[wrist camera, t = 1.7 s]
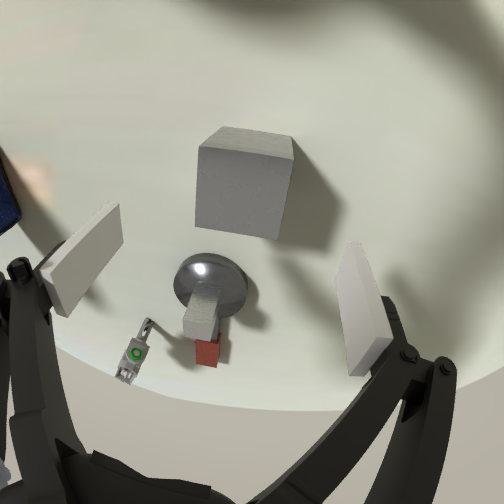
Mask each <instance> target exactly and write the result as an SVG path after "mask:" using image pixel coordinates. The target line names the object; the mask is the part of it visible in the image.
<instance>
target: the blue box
mask: <svg viewBox="0 0 504 504" xmlns="http://www.w3.org/2000/svg"><path fill="white" fill-rule="evenodd" d="M20 219H21V215H20V212H19V209H18V207H17V204H16V202H15V200H14V197H13V194H12V192H11V189H10V186H9V183H8V180H7V178H6V175H5V173H4V171H3V168H2V165H1V162H0V236H1V235H2V234H3V233H5V232H6V231H7V230H9V229H10V228H12V227H13V226H14V225H15V224H16V223H17V222H19V220H20Z"/></svg>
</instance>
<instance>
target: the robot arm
mask: <svg viewBox="0 0 504 504" xmlns="http://www.w3.org/2000/svg"><path fill="white" fill-rule="evenodd" d="M123 243H124V242H123V235H122V227H121V218H120V209H119V203H111V202H108V203H107V204H106V205H105V206H104V207H102V208H101V209H100V210H99V211H98V212H97V213H96V214H94V215H93V216H92V217H91V218H90V219H89V220H88V221H87V222H86V223H85V224H83V225H82V226H81V227H80V228H79V229H78V230H77V231H76V232H75V233H74V234H73V235H72V236H71V237H70V238H69V239H68V240H67V241H66V240H65V241H63V242H61V243H60V244H58V245H57V246H56V247H55V248H54V249H53V250H52V251H51V252H50V253H49V254H48V255H47V257H45V258H44V259H43V260H42V261H41V262H40V263H39V264H38V265H37V266H36V267H35V269H34V270H32V267H31V264H30V262H29V259H28V258H27V257H19V258H16V259H14V260H13V261H12V262H10V264H9V265H8V266H7V271H8V274H9V276H10V279H11V280H6V279H5V277H4V274H3V273H2V272H0V504H235V503H234V502H233V501H232V500H231V499H229V498H228V497H226V496H225V495H223V494H221V493H219V492H217V491H215V490H212V489H211V486H208V485H203V484H198V483H193V482H189V481H184V480H180V479H158V478H148V477H145V476H143V475H141V474H140V473H138V472H136V471H135V470H133V469H132V468H130V467H129V466H127V465H125V464H124V463H122V462H121V461H119V460H117V459H114V458H111V457H109V456H107V455H104V454H102V453H100V452H97V451H95V450H94V451H93V453H92V454H87V453H86V451H85V448H84V447H83V445H82V443H81V441H80V440H79V438H78V437H77V435H76V432H75V429H74V426H73V423H72V420H71V416H70V413H69V409H68V406H67V402H66V398H65V394H64V389H63V385H62V381H61V376H60V371H59V366H58V360H57V355H56V348H55V341H54V334H53V326H52V316H51V313H50V309H51V307H52V306H53V307H54V309H55V311H56V313H57V314H58V315H61V316H64V317H66V318H68V317H69V315H70V314H71V313H72V311H73V310H74V308H75V307H76V305H77V304H78V302H79V301H80V300H81V298H82V297H83V295H84V294H85V293H86V291H87V290H88V288H89V287H90V286H91V284H92V283H93V282H94V280H95V279H96V278H97V276H98V275H99V274H100V272H101V271H102V270H103V268H104V267H105V266H106V264H107V263H108V262H109V261H110V259H111V258H112V257H113V256H114V254H115V253H116V252H117V251H118V249H119V248H120V247H121V246H122V244H123ZM334 282H335V287H336V293H337V298H338V304H339V310H340V316H341V322H342V328H343V335H344V342H345V349H346V356H347V364H348V372H349V376H365V375H366V374H367V373H368V371H369V370H370V371H371V376H372V377H371V378H370V379H369V380H368V381H367V383H366V384H365V385H364V386H363V387H362V390H361V391H360V392H359V393H358V395H357V396H356V397H355V398H354V400H353V401H352V402H351V403H350V405H349V406H348V407H347V408H346V409H345V411H344V412H343V413H342V414H341V415H340V417H339V418H338V419H337V420H336V421H335V422H334V423H333V425H332V426H331V427H330V428H329V429H328V430H327V431H326V432H325V433H324V435H323V436H322V437H321V438H320V439H319V440H318V441H317V442H316V443H315V444H314V445H313V446H312V447H311V448H310V449H309V450H308V451H307V452H306V453H305V454H304V455H303V456H302V457H301V458H300V459H299V460H298V461H297V462H296V463H295V464H294V465H293V466H292V467H291V468H289V469H288V470H287V471H286V472H285V473H284V474H283V475H282V476H281V477H280V478H278V479H277V480H276V481H275V482H274V483H272V484H271V485H270V486H269V487H267V488H266V489H265V490H263V491H262V492H261V493H259V494H258V495H257V496H255V497H254V498H253V499H252V500H250V501H249V502H248V503H246V504H322V503H323V501H324V500H325V499H326V498H327V497H328V496H329V495H330V494H331V493H332V492H333V491H334V490H335V488H336V487H337V486H338V485H339V484H340V483H341V482H342V480H343V479H344V478H345V477H346V476H347V475H348V473H349V472H350V471H351V470H352V468H353V467H354V466H355V465H356V463H357V462H358V461H359V460H360V458H361V457H362V456H363V454H364V453H365V452H366V450H367V449H368V448H369V446H370V445H371V444H372V442H373V441H374V439H375V438H376V437H377V435H378V434H379V432H380V431H381V429H382V428H383V426H384V425H385V423H386V422H387V420H388V419H389V417H390V415H391V414H392V412H393V411H394V409H395V407H396V406H397V404H398V402H399V401H400V399H402V404H401V408H400V411H399V415H398V418H397V421H396V425H395V428H394V431H393V434H392V437H391V440H390V443H389V445H388V449H387V451H386V454H385V456H384V459H383V462H382V464H381V467H380V469H379V471H378V474H377V476H376V479H375V481H374V483H373V486H372V488H371V490H370V492H369V494H368V496H367V498H366V500H365V503H364V504H432V502H433V499H434V496H435V493H436V489H437V486H438V483H439V479H440V476H441V472H442V468H443V464H444V460H445V456H446V451H447V447H448V442H449V437H450V431H451V425H452V418H453V411H454V403H455V393H456V381H457V369H456V367H455V364H454V363H453V362H452V361H451V360H450V359H449V358H447V357H443V356H442V357H438V358H437V359H436V360H435V361H434V362H431V361H428V360H425V359H422V358H420V355H419V353H418V351H417V350H416V349H415V348H414V347H413V346H412V345H410V344H408V343H407V340H406V337H405V333H404V330H403V327H402V324H401V321H400V318H399V315H398V314H397V310H396V307H395V304H394V303H393V302H392V301H391V299H390V298H389V297H386V296H380V293H379V290H378V287H377V284H376V281H375V279H374V276H373V273H372V270H371V268H370V265H369V262H368V260H367V257H366V254H365V252H364V249H363V247H362V244H361V243H356V242H351V241H349V242H348V244H347V247H346V250H345V253H344V255H343V258H342V261H341V263H340V266H339V268H338V271H337V274H336V276H335V279H334ZM10 375H11V385H12V395H13V403H14V410H15V414H14V416H12V417H10V419H9V426H10V432H11V437H12V442H13V446H14V450H15V455H16V459H17V462H18V465H19V470H20V472H21V476H22V480H20V481H17V482H15V483H13V484H11V485H8V483H7V481H9V480H10V478H11V473H10V471H9V469H8V468H6V467H5V465H4V461H5V452H6V421H7V418H6V417H7V402H8V401H7V400H8V391H9V381H10Z"/></svg>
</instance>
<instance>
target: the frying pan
mask: <svg viewBox="0 0 504 504" xmlns="http://www.w3.org/2000/svg"><path fill="white" fill-rule="evenodd" d="M173 286H174V291H175V294H176V296H177V298H178V299H179V301H180V302H181V303H182V304H183V305H184V306H185V307H186V308H187V309H186V312H185V314H184V317H183V330H184V336H185V337H190V338H194V339H196V363H197V364H200V365H205V366H210V367H215V368H217V364H218V359H219V350H220V338H221V333H219V326H220V318H224V317H228V316H231V315H233V314H235V313H237V312H238V311H239V310H240V309H241V308H242V307H243V305H244V303H245V298H246V293H247V279H246V276H245V274H244V273H243V271H242V270H241V269H240V267H239V266H238V265H237V264H235V263H234V262H233V261H231V260H229V259H228V258H225V257H223V256H220V255H217V254H211V253H201V254H196V255H193V256H191V257H189V258H187V259H186V260H185V261H184V262H183V263H182V264H181V266H180V268H179V270H178V272H177V274H176V276H175V279H174V285H173Z"/></svg>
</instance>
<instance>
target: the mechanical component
mask: <svg viewBox="0 0 504 504" xmlns="http://www.w3.org/2000/svg"><path fill="white" fill-rule="evenodd" d="M148 322H149V319H148V318H145V320H144V322H143V324H142V326H141V329H140V331H139V333H138V335H137V337H136V338H132V339H131V341H130V344H129V346H128V348H127V349H126V350H125V352H124V354H123V357H122V359H121V361H120V363H119V366H118V370H117V373H116V375H115V377H116V378H118V379H120V380H121V381H122V382H126V383H127V384H129V385H130V384H131V383H132V381H133V380H134V378H135V377H137V374H138V372H139V369H140V367H141V364H142V362H143V361H144V360H145V358H146V355H147V353H148V350H149V346H148V345H147V344H146V343H145V342H146V340H147V338H148V335H149V333H150V331H151V328H152V326H153V324H154V322H153V321H152V322H151V323H150V324H148ZM145 326H146V327H145ZM144 328H145V329H144ZM143 330H144V332H145V330H146V331H147V332H146V334H145V336H142V332H143Z"/></svg>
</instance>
